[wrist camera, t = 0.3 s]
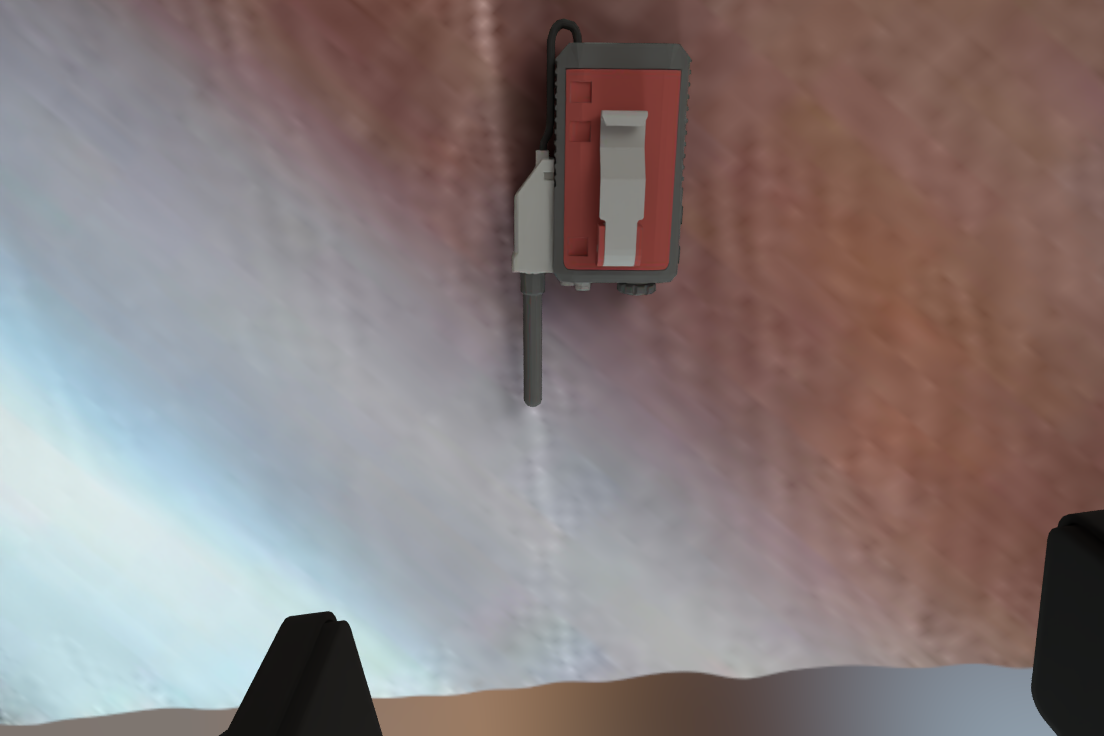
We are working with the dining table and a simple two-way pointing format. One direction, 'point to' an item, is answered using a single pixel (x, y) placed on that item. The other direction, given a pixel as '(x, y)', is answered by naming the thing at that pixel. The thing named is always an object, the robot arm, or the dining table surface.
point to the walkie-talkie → (602, 178)
